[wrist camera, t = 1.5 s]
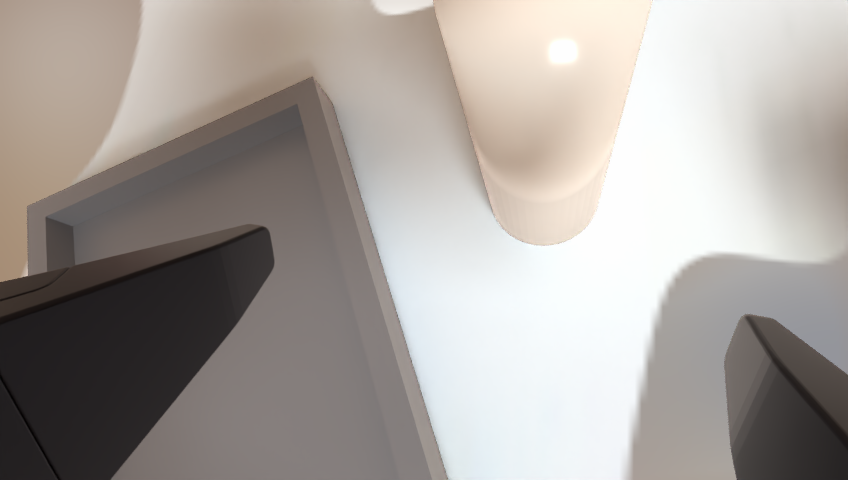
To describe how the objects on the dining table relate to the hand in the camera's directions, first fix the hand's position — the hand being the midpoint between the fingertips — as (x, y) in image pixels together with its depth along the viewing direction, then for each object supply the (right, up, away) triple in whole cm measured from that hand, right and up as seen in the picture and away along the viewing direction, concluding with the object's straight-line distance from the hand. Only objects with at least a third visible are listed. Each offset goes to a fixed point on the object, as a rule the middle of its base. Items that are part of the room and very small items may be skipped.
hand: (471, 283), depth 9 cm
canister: (+5, +3, +14) cm, 15 cm away
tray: (-11, -5, +15) cm, 19 cm away
